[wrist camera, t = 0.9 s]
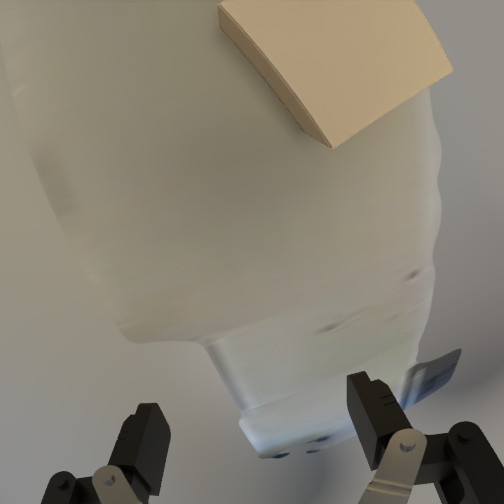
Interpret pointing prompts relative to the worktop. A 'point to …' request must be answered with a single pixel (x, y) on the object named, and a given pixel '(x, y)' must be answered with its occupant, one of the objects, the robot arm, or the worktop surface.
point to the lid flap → (345, 55)
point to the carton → (270, 75)
